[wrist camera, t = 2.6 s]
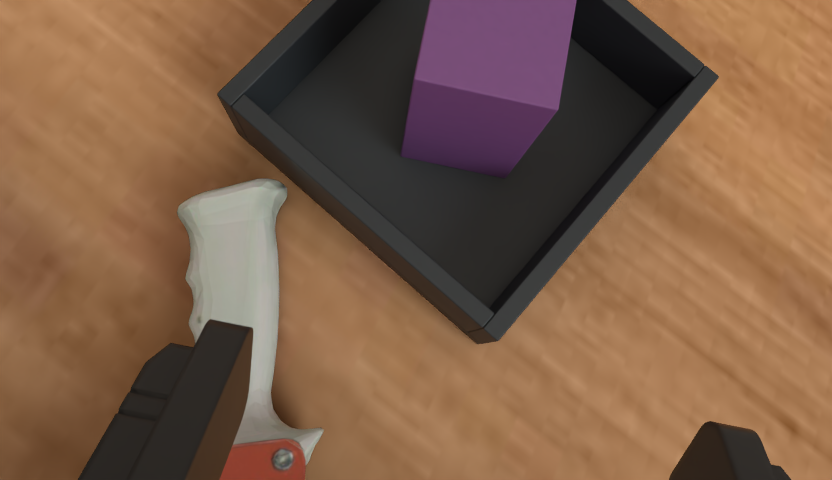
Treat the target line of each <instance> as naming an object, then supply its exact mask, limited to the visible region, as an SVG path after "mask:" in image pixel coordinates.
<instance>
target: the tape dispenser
mask: <svg viewBox="0 0 832 480" xmlns="http://www.w3.org/2000/svg"><path fill="white" fill-rule="evenodd" d="M286 198H287V188H286V187H285V186H284V185H283V184H282V183H281V182H279V181H277V180H274V179H255V180H251V181H247V182H243V183H239V184H236V185H232V186H228V187H223V188H219V189H215V190H210V191H206V192H203V193H200V194H198V195H195V196H193V197H191V198H189V199H188V200H186V201H184V202H183V203H182V204H180V205H179V208H178V211H177V214H178V217H179V219H180V220H181V222H182V223H183V224H184V226H185V228H186V230H187V232H188V235H189V241H190V247H191V253H190V262H189V266H188V269H187V273H186V278H185V280H186V281H187V283H188V284H189V286H190V288H191V289H192V293H193V300H194V303H193V310H192V313H191V316H190V319H189V327H190V329H191V331H192V333H193V335H194V339H195V343H196V341H197V340H198V338H199V336H200V334H201V332H202V330H203V328H204V326H205V324H206V323H207V321H208V320H210V319H213V320H218V321H222V322H227V323H232V324H237V325H242V326H247V327H252V328H253V346H252V359H251V372H250V385H249V393H248V399H247V403H246V408H245V411H244V415H243V418H242V421H241V424H240V427H239V430H238V432H237V435H236V437H235V440H234V443H233V445H232V448H231V451H230V453H229V456H228V459H227V461H226V464H225V466H224V469H223V472H222V474H221V477H220V480H305V466H306V465H307V463H308V462H309V460H310V457H311V454H312V452H313V449H314V447H315V445H316V443H317V442H318V441H319V439H320V437H321V435H322V433H323V431H324V430H323V429H322V428H314V429H296V428H291V427H289V426H288V425H286V424H285V423H283V422H282V421H281V420H280V419H279V417H278V415H277V414H276V412H275V411H274V409H273V405H272V399H271V388H272V381H273V374H274V366H275V357H276V348H277V339H278V322H279V267H278V250H277V242H276V233H275V223H276V216H277V214H278V211H279V209H280V207H281V206H282V204H283V203H284V201H285V200H286Z"/></svg>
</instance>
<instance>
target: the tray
mask: <svg viewBox="0 0 832 480" xmlns="http://www.w3.org/2000/svg"><path fill="white" fill-rule="evenodd" d="M429 3H430V0H312V1H311V2H310V3H309V4H308V5H307V6H306V7H305V8H304V9H303V10H302V11H301V12H300V13H299V14H298V15H297V16H296V17H295V18H294V19H293V20H292V21H291V22H290V23H289V24H288V25H287V26H286V27H285V28H284V29H283V30H282V31H281V32H280V33H278V34H277V35H276V36H275V37H274V38H273V39H272V40H271V41H270V42H269V43H268V44H267V45H266V46H265V47H264V48H263V49H262V50H261V51H260V52H259V53H258V54H257V55H256V56H255V57H254V58H253V59H252V60H251V61H250V62H249V63H248V64H247V65H246V66H245V67H244V68H243V69H242V70H241V71H240V72H239V73H238V74H237V75H236V76H235V77H234V78H233V79H232V80H231V81H230V82H229V83H228V84H227V85H226V86H224V87H223V88H222V89H221V90H220V91H219V92H218V94H217V95H218V97H219V99H220V101H221V103H222V104H223V106H224V108H225V110H226V112H227V114H228V115H229V117H230V119H231V121H232V123H233V125H234V126H235V128H236V130H237V132H238V133H239V134H240V135H241V136H242V137H243V138H244V139H245V140H246V141H248V142H249V143H250V144H251V145H252V146H253V147H254V148H256V149H257V150H258V151H259V152H260V153H261V154H262V155H263V156H265V157H266V158H267V159H268V160H269V161H270V162H271V163H273V164H274V165H275V166H276V167H277V168H278V169H279V170H280V171H282V172H283V173H284V174H285V175H286V176H287V177H288V178H290V179H291V180H292V181H293V182H294V183H295V184H296V185H297V186H299V187H300V188H301V189H302V190H303V191H304V192H305V193H307V194H308V195H309V196H310V197H311V198H312V199H313V200H314V201H316V202H317V203H318V204H319V205H320V206H321V207H322V208H324V209H325V210H326V211H327V212H328V213H329V214H330V215H331V216H333V217H334V218H335V219H336V220H337V221H338V222H339V223H341V224H342V225H343V226H344V227H345V228H346V229H347V230H349V231H350V232H351V233H352V234H353V235H354V236H355V237H356V238H358V239H359V240H360V241H361V242H362V243H363V244H364V245H366V246H367V247H368V248H369V249H370V250H371V251H372V252H373V253H375V254H376V255H377V256H378V257H379V258H380V259H381V260H383V261H384V262H385V263H386V264H387V265H388V266H389V267H390V268H392V269H393V270H394V271H395V272H396V273H397V274H398V275H400V276H401V277H402V278H403V279H404V280H405V281H406V282H407V283H409V284H410V285H411V286H412V287H413V288H414V289H415V290H417V291H418V292H419V293H420V294H421V295H422V296H423V297H424V298H426V299H427V300H428V301H429V302H430V303H431V304H432V305H434V306H435V307H436V308H437V309H438V310H439V311H440V312H441V313H443V314H444V315H445V316H446V317H447V318H448V319H449V320H451V321H452V322H453V323H454V324H455V325H456V326H457V327H459V328H460V329H461V330H462V331H463V332H464V333H465V334H466V335H468V336H469V337H470V338H471V339H472V340H473V341H474V342H476V343H477V344H483V343H489V342H496V341H499V340H500V338H501V337H502V336H503V335H504V334H505V333H506V331H507V330H508V329H509V328H510V327H511V325H512V324H513V323H514V322H515V321H516V319H517V318H518V317H519V316H520V315H521V313H522V312H523V311H524V310H525V309H526V307H527V306H528V305H529V304H530V303H531V301H532V300H533V299H534V298H535V297H536V295H537V294H538V293H539V292H540V291H541V289H542V288H543V287H544V286H545V285H546V283H547V282H548V281H549V280H550V279H551V278H552V276H553V275H554V274H555V273H556V272H557V270H558V269H559V268H560V267H561V266H562V264H563V263H564V262H565V261H566V260H567V258H568V257H569V256H570V255H571V254H572V252H573V251H574V250H575V249H576V248H577V246H578V245H579V244H580V243H581V242H582V240H583V239H584V238H585V237H586V236H587V234H588V233H589V232H590V231H591V230H592V229H593V227H594V226H595V225H596V224H597V223H598V221H599V220H600V219H601V218H602V217H603V215H604V214H605V213H606V212H607V211H608V209H609V208H610V207H611V206H612V205H613V203H614V202H615V201H616V200H617V199H618V197H619V196H620V195H621V194H622V193H623V191H624V190H625V189H626V188H627V187H628V185H629V184H630V183H631V182H632V181H633V179H634V178H635V177H636V176H637V175H638V174H639V172H640V171H641V170H642V169H643V168H644V166H645V165H646V164H647V163H648V162H649V160H650V159H651V158H652V157H653V156H654V154H655V153H656V152H657V151H658V150H659V148H660V147H661V146H662V145H663V144H664V142H665V141H666V140H667V139H668V138H669V136H670V135H671V134H672V133H673V132H674V130H675V129H676V128H677V127H678V126H679V124H680V123H681V122H682V121H683V120H684V119H685V117H686V116H687V115H688V114H689V113H690V111H691V110H692V109H693V108H694V107H695V105H696V104H697V103H698V102H699V101H700V99H701V98H702V97H703V96H704V95H705V93H706V92H707V91H708V90H709V89H710V87H711V86H712V85H713V84H714V83H715V81H716V80H717V79H718V77H719V76H718V75H717V74H715V73H714V72H713V71H712V70H711V69H709V68H708V67H707V66H704V64H703V63H702V62H701V61H700V60H698V59H697V58H696V57H695V56H693V55H692V54H691V53H690V52H689V51H687V50H686V49H685V48H684V47H683V46H681V45H680V44H679V43H678V42H677V41H675V40H674V39H673V38H672V37H671V36H669V35H668V34H667V33H666V32H665V31H663V30H662V29H661V28H660V27H658V26H657V25H656V24H655V23H654V22H652V21H651V20H650V19H649V18H648V17H646V16H645V15H644V14H643V13H642V12H640V11H639V10H638V9H637V8H636V7H634V6H633V5H632V4H631V3H630V2H628V1H627V0H577V1H576V7H575V13H574V19H573V25H572V31H571V37H570V43H569V49H568V55H567V61H566V67H565V73H564V79H563V85H562V91H561V97H560V103H559V109H558V111H557V112H556V113H555V115H554V116H553V117H552V118H551V120H550V121H549V122H548V124H547V125H546V126H545V128H544V129H543V130H542V131H541V133H540V134H539V135H538V137H537V138H536V139H535V141H534V142H533V143H532V144H531V146H530V147H529V148H528V150H527V151H526V152H525V154H524V155H523V156H522V157H521V159H520V160H519V161H518V163H517V164H516V165H515V167H514V168H513V169H512V170H511V172H510V173H509V174H508V176H507V177H506V178H500V177H495V176H490V175H486V174H481V173H476V172H472V171H467V170H462V169H457V168H453V167H448V166H443V165H439V164H434V163H429V162H424V161H420V160H415V159H410V158H406V157H401V156H400V153H401V147H402V141H403V136H404V130H405V124H406V119H407V113H408V107H409V102H410V96H411V90H412V85H413V79H414V74H415V69H416V64H417V60H418V55H419V50H420V45H421V41H422V36H423V31H424V26H425V22H426V17H427V12H428V7H429Z"/></svg>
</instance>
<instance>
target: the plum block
mask: <svg viewBox="0 0 832 480" xmlns="http://www.w3.org/2000/svg"><path fill="white" fill-rule="evenodd" d="M576 1H577V0H430V3H429V7H428V12H427V17H426V22H425V26H424V31H423V36H422V41H421V45H420V50H419V55H418V60H417V64H416V69H415V74H414V79H413V85H412V90H411V96H410V102H409V107H408V113H407V119H406V124H405V130H404V136H403V141H402V147H401V153H400V156H401V157H406V158H410V159H415V160H420V161H424V162H429V163H434V164H439V165H443V166H448V167H453V168H457V169H462V170H467V171H472V172H476V173H481V174H486V175H490V176H495V177H500V178H506V177H507V176H508V174H509V173H510V172H511V170H512V169H513V168H514V167H515V165H516V164H517V163H518V161H519V160H520V159H521V157H522V156H523V155H524V154H525V152H526V151H527V150H528V148H529V147H530V146H531V144H532V143H533V142H534V141H535V139H536V138H537V137H538V135H539V134H540V133H541V131H542V130H543V129H544V128H545V126H546V125H547V124H548V122H549V121H550V120H551V118H552V117H553V116H554V115H555V113H556V112H557V111H558V109H559V103H560V97H561V91H562V85H563V79H564V73H565V67H566V61H567V55H568V49H569V43H570V37H571V31H572V25H573V19H574V13H575V7H576Z"/></svg>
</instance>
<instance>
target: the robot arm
mask: <svg viewBox="0 0 832 480" xmlns="http://www.w3.org/2000/svg"><path fill="white" fill-rule="evenodd" d="M252 346H253V328H252V327H247V326H242V325H237V324H232V323H227V322H222V321H218V320H213V319H210V320H208V321H207V323H206V324H205V326H204V328H203V330H202V332H201V334H200V336H199V338H198V340H197V341H196V343H195V345H194V347H188V346H183V345H178V344H173V343H170V344H169V345H168V346H166V347H165V348H164V349H162V350H161V351H160V352H158V353H157V354H156V355H155V356H153V357H152V358H151V359H149V360H148V361H147V362H146V363H145V365H144V366H143V368H142V370H141V371H140V373H139V375H138V377H137V378H136V380H135V382H134V383H133V385H132V387H131V391H130V393H128V394H127V396H126V397H125V399H124V401H123V402H122V404H121V406H120V408H119V412H118V414H116V415H115V416H114V418H113V420H112V421H111V423H110V425H109V427H108V428H107V430H106V432H105V433H104V435H103V437H102V439H101V440H100V442H99V444H98V446H97V447H96V449H95V451H94V452H93V454H92V456H91V458H90V459H89V461H88V463H87V464H86V466H85V468H84V470H83V471H82V473H81V475H80V477H79V478H78V480H220V477H221V474H222V472H223V469H224V466H225V464H226V461H227V459H228V456H229V453H230V451H231V448H232V445H233V443H234V440H235V437H236V435H237V432H238V430H239V427H240V424H241V421H242V418H243V415H244V411H245V408H246V403H247V399H248V393H249V385H250V372H251V359H252ZM669 480H791V479H790V478H789V476H788V475H787V474H786V473H785V471H784V470H783V469H782V468H781V466H776V465H771V464H770V461H769V459H768V457H767V454H766V452H765V449H764V447H763V444H762V442H761V440H760V438H759V436H758V434H757V433H756V432H755V431H753V430H751V429H746V428H741V427H736V426H731V425H726V424H721V423H716V422H711V421H709V422H706V423H705V424H703V425H702V427H701V428H700V429H699V431H698V433H697V434H696V436H695V437H694V439H693V440H692V442H691V444H690V445H689V447H688V448H687V450H686V451H685V453H684V454H683V456H682V458H681V459H680V461H679V462H678V464H677V465H676V467H675V468H674V470H673V472H672V473H671V476H670V478H669Z"/></svg>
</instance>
